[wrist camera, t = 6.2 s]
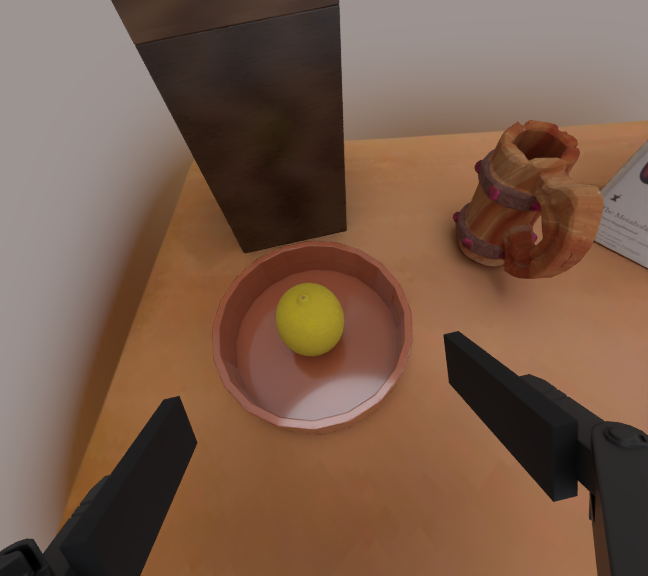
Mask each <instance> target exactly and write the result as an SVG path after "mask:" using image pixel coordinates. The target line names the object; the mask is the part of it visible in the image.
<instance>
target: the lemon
mask: <svg viewBox="0 0 648 576" xmlns="http://www.w3.org/2000/svg"><path fill="white" fill-rule="evenodd" d="M276 326H277V331H278V333H279V335H280V337H281V339H282V341H283V342H284V343H285V344H286V346H287V347H288V348H290V349H291V350H292V351H294V352H295V353H298V354H300V355H303V356H319V355H322V354H324V353H327V352H328V351H330V350H331V349H332V348H333V347H334V346H335V345H336V344H337V343H338V341H339V340H340V337H341V335H342V333H343V328H344V314H343V310H342V307H341V305H340V303H339V301H338V299H337V298H336V297H335V295H334V294H333V293H332V292H331V291H330V290H328V289H327V288H326V287H324V286H321V285H319V284H315V283H302V284H299V285H296V286H294V287H292V288H290V289H289V290H288V291H287V292H286V293H285V294H284V295H283V296H282V298H281V299H280V301H279V304H278V306H277V310H276Z"/></svg>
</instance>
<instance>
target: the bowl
mask: <svg viewBox="0 0 648 576" xmlns="http://www.w3.org/2000/svg"><path fill="white" fill-rule="evenodd" d="M302 283H315V284H319V285H321V286H324V287H326V288H327V289H328V290H330V291H331V292H332V293H333V294H334V295H335V297H336V298H337V299H338V301H339V303H340V305H341V307H342V310H343V314H344V328H343V333H342V335H341V337H340V340H339V341H338V343H337V344H336V345H335V346H334V347H333V348H332V349H331V350H330V351H328V352H327V353H324V354H322V355H319V356H303V355H300V354H298V353H295V352H294V351H292V350H291V349H290V348H288V347H287V346H286V344H285V343H284V342H283V341H282V339H281V337H280V335H279V333H278V331H277V326H276V310H277V306H278V304H279V301H280V299H281V298H282V296H283V295H284V294H285V293H286V292H287V291H288V290H289V289H290V288H292V287H294V286H296V285H299V284H302ZM212 330H213V358H214V361H215V364H216V366H217V369H218V371H219V374H220V376H221V379H222V382H223V384H224V386H225V388H226V389H227V390H228V391H229V392H230V393H231V394H232V395H233V397H234V398H235V399H236V400H237V401H238V402H239V403H240V404H241V405H242V406H243V407H244V409H245V410H247V411H248V412H250V413H252V414H254V415H256V416H258V417H260V418H262V419H264V420H266V421H268V422H270V423H272V424H274V425H276V426H278V427H280V428H282V429H284V430H286V431H290V432H299V433H307V434H317V435H319V434H320V435H321V434H325V433H329V432H335V431H338V430H341V429H345V428H349V427H352V426H353V425H355V424H356V423H358V422H360V421H362V420H363V419H364V418H366V417H367V416H369V415H370V414H372V413H373V412H375V411H376V410H377V409H378V408H379V407H380V406H381V404H382V403H383V402H384V400H385V399H386V398H387V397H388V395H389V394H390V393H391V391H392V390H393V389H394V387H395V386H396V384H397V382H398V380H399V379H400V377H401V375H402V373H403V370H404V367H405V364H406V361H407V358H408V355H409V352H410V348H411V345H412V317H411V310H410V307H409V305H408V302H407V300H406V297H405V295H404V292H403V290H402V287H401V286H400V284H399V283H398V282H397V280H396V279H395V278H394V277H393V276H392V274H391V273H390V272H389V271H388V270H387V269H386V267H385V266H384V265H383V264H382V263H380V262H379V261H377V260H375V259H374V258H372V257H371V256H369V255H368V254H366V253H364V252H363V251H361V250H359V249H356V248H353V247H349V246H346V245H343V244H339V243H336V242H315V241H306V242H302V243H297V244H293V245H288V246H284V247H282V248H279V249H277V250H275V251H273V252H271V253H269V254H267V255H265V256H263V257H261V258H259V259H257V260H256V261H254V262H253V263H252V264H251V265H250V266H249V267H248V268H246V269H245V270H244V271H243V272H242V273H241V274H240V275H238V276H237V277H236V279H235V280H234V282H233V283H232V285H231V286H230V288H229V289H228V291H227V292H226V294H225V295H224V297H223V298H222V300H221V301H220V305H219V308H218V311H217V315H216V318H215V321H214V325H213V329H212Z"/></svg>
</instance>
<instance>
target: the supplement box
mask: <svg viewBox="0 0 648 576" xmlns="http://www.w3.org/2000/svg"><path fill="white" fill-rule="evenodd" d="M601 193H602V196H603V203H604V208H603V213H602V217H601V222H600V225H599V229H598V232H597V236H596V238H595V240H594V241H596V242H598V243H600V244H602V245H603V246H605V247H607V248H609V249H611V250H613V251H615V252H617V253H619V254H621V255H623V256H625V257H627V258H629V259H631V260H633V261H635V262H636V263H638V264H640V265H642V266H644V267H646V268H648V140H647V141H646V142H645V143H644V144H643V146H642V147H641V148H640V149H639V150H638V151H637V152H636V153H635V154H634V155H633V156H632V157H631V158H630V159H629V160H628V162H627V163H626V164H625V165H624V166H623V167H622V168H621V169H620V170H619V171H618V172H617V173H616V175H615V176H614V177H613V178H612V179H611V180H610V181H609V182H608V183H607V185H606V186H605V187H604V188H603V189H602V190H601Z"/></svg>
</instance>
